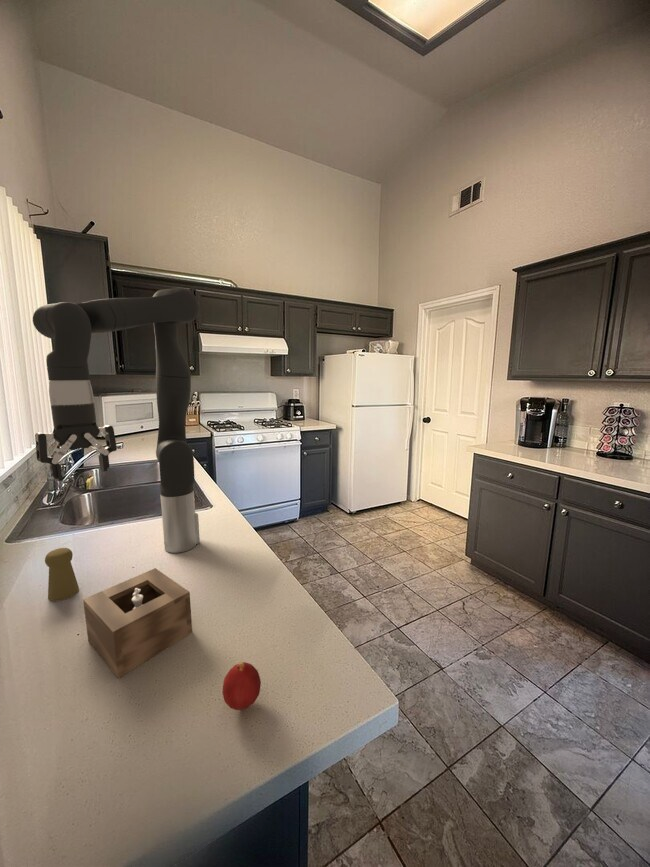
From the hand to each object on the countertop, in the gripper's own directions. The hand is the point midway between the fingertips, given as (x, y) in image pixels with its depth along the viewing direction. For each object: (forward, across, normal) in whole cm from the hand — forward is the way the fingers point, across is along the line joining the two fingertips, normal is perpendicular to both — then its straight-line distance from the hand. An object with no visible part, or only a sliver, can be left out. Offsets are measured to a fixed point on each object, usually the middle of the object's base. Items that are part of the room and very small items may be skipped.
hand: (82, 475), depth 77 cm
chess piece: (+30, 0, +20) cm, 36 cm away
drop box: (+30, 0, +20) cm, 36 cm away
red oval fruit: (+30, -3, +48) cm, 57 cm away
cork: (+30, +4, -9) cm, 32 cm away
